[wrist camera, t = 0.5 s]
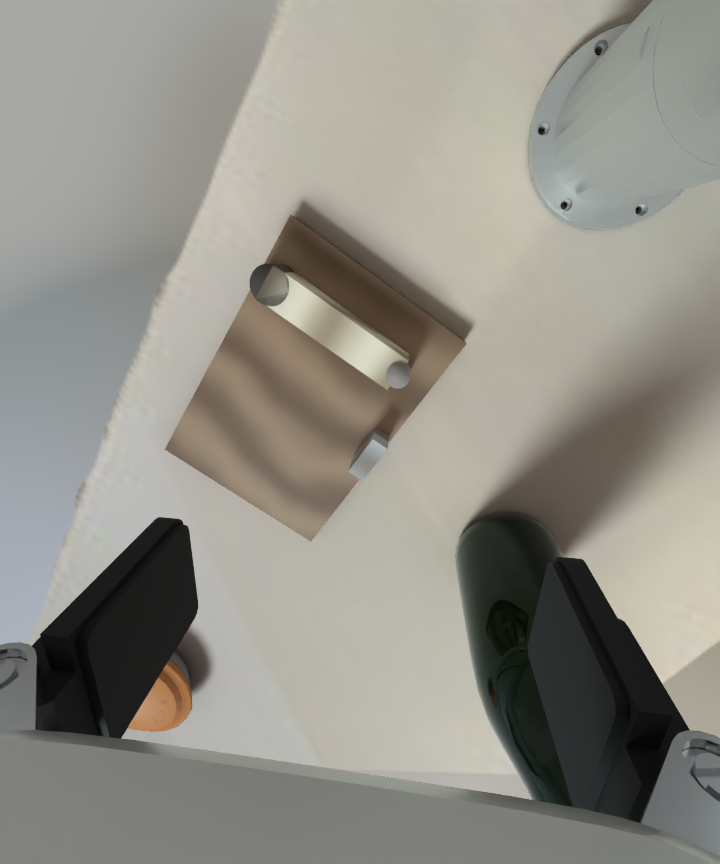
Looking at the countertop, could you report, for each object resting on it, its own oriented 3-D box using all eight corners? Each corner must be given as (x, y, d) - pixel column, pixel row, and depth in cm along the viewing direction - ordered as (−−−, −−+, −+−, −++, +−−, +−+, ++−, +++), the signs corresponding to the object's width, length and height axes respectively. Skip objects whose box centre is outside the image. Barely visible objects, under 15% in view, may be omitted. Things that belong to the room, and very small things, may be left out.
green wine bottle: (527, 603, 48) (719, 1186, 18) (439, 571, 48) (481, 1106, 18) (575, 529, 44) (927, 1118, 14) (479, 495, 44) (623, 1014, 14)
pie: (226, 688, 59) (210, 724, 55) (146, 718, 64) (125, 753, 59) (154, 607, 56) (131, 639, 51) (74, 645, 60) (45, 677, 55)
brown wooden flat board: (295, 217, 37) (280, 211, 33) (464, 340, 39) (470, 350, 35) (172, 443, 46) (148, 461, 42) (313, 533, 48) (304, 558, 44)
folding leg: (419, 359, 38) (419, 368, 35) (397, 388, 39) (396, 398, 36) (273, 255, 36) (260, 255, 33) (255, 288, 38) (241, 291, 34)
